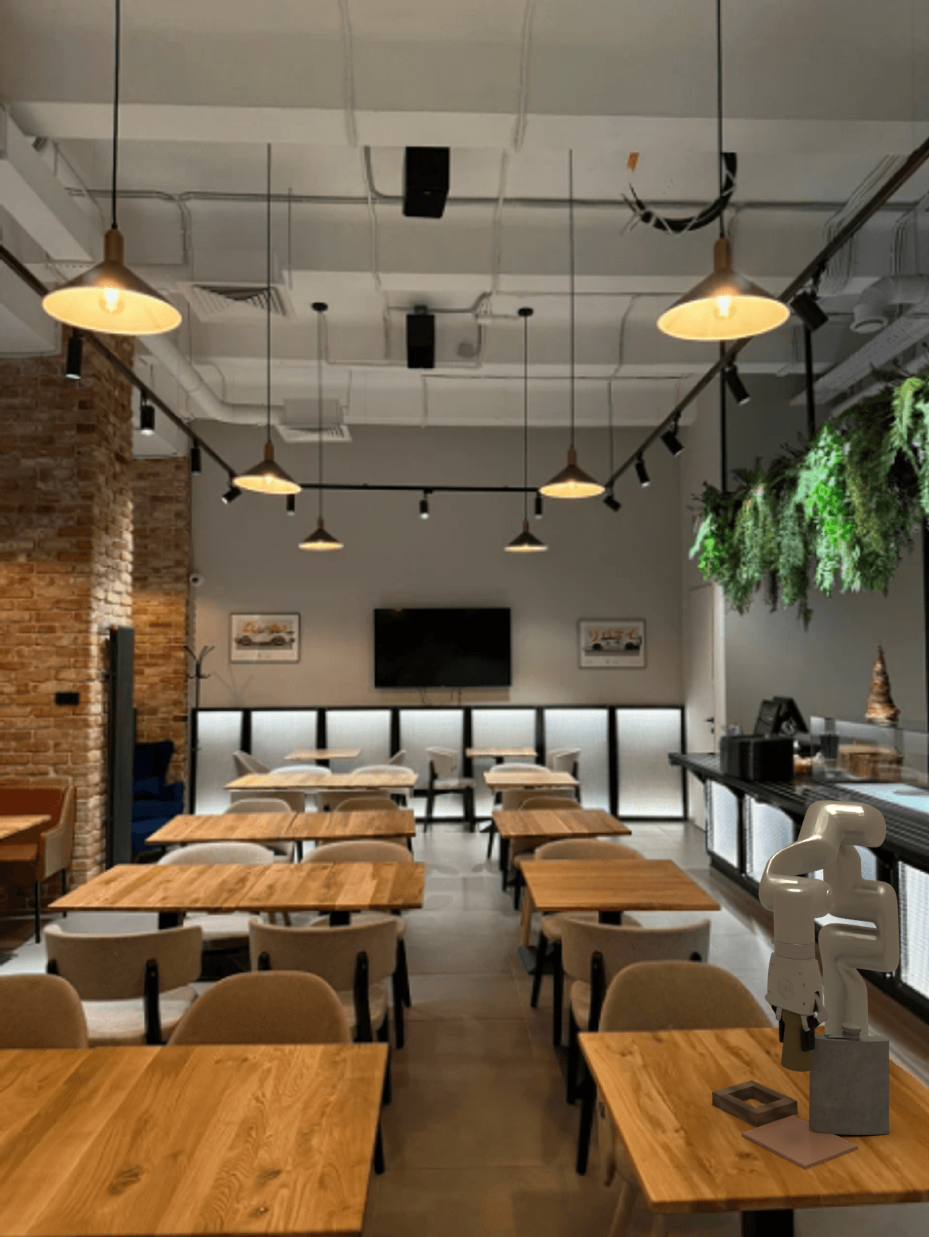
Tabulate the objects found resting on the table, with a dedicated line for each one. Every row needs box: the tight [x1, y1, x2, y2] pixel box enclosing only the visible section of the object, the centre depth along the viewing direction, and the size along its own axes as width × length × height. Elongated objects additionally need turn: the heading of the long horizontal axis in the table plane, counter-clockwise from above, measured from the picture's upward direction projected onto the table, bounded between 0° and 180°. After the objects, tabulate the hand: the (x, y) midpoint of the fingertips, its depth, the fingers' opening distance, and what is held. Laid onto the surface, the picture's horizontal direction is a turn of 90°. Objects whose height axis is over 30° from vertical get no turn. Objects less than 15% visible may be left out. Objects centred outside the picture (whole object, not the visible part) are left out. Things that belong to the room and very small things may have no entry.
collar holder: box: [711, 1079, 799, 1128], centre depth 195 cm, size 12×12×2 cm
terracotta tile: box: [741, 1115, 859, 1170], centre depth 180 cm, size 15×15×1 cm
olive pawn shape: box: [780, 1009, 814, 1073], centre depth 182 cm, size 6×6×11 cm
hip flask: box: [808, 1023, 890, 1136], centre depth 185 cm, size 16×4×20 cm, turn 94°
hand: (796, 1044), depth 182 cm, fingers closed on olive pawn shape, 4 cm apart
